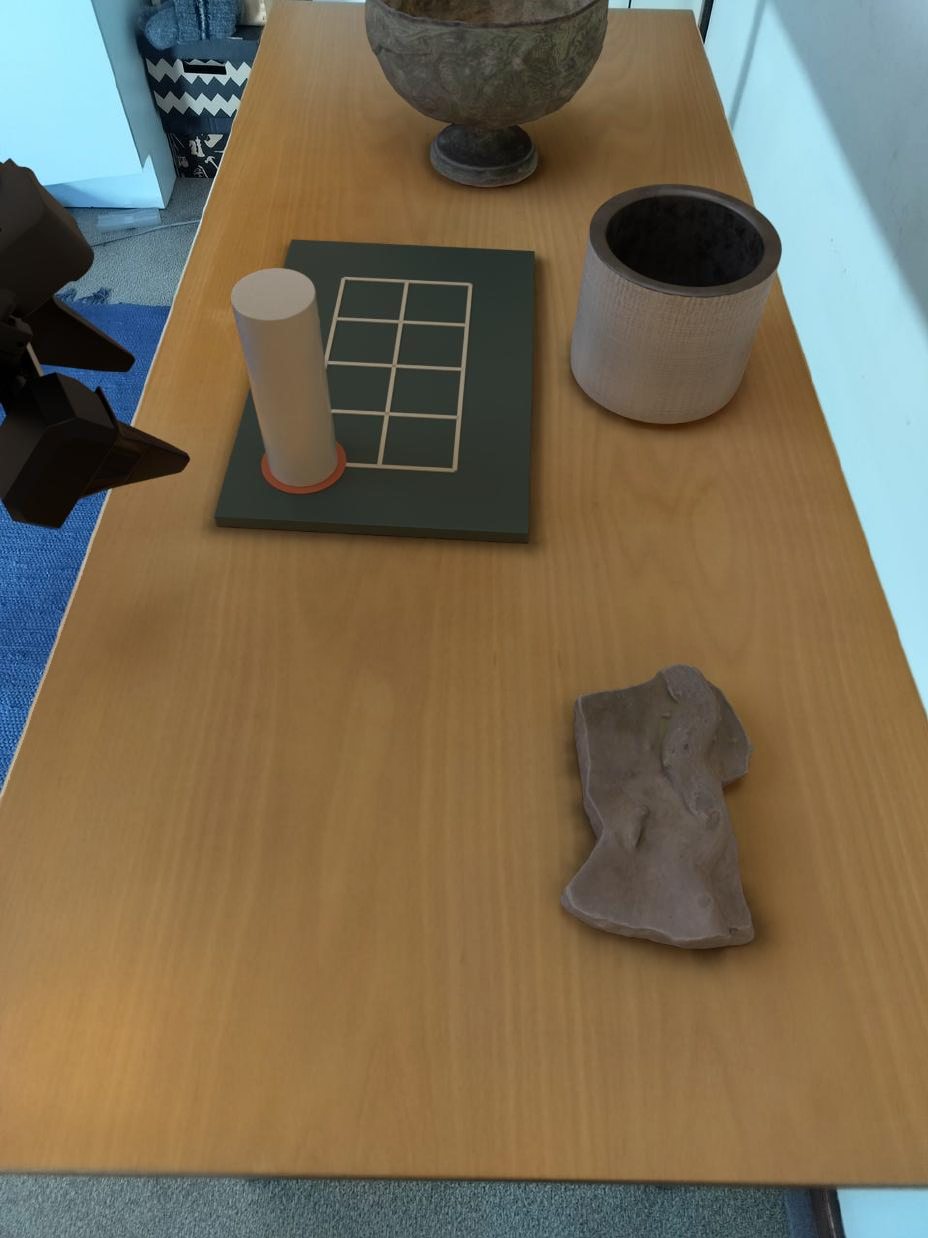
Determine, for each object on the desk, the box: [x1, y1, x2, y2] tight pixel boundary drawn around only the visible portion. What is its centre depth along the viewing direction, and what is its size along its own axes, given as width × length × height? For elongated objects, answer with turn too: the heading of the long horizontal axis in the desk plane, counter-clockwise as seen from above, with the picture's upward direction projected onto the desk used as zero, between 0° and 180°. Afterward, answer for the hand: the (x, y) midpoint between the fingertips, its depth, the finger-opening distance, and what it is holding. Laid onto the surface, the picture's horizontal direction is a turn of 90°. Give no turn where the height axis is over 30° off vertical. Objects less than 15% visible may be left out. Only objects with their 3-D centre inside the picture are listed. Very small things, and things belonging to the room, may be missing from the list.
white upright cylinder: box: [230, 267, 338, 487], centre depth 55 cm, size 5×5×13 cm
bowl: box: [364, 0, 610, 188], centre depth 78 cm, size 20×19×15 cm
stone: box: [559, 663, 755, 949], centre depth 46 cm, size 15×10×4 cm, turn 173°
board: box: [213, 238, 536, 544], centre depth 67 cm, size 20×30×1 cm, turn 177°
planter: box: [569, 183, 783, 425], centre depth 63 cm, size 12×13×11 cm
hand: (157, 411), depth 52 cm, fingers open, 9 cm apart
